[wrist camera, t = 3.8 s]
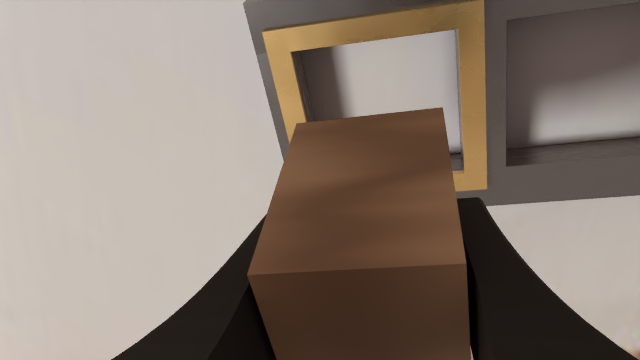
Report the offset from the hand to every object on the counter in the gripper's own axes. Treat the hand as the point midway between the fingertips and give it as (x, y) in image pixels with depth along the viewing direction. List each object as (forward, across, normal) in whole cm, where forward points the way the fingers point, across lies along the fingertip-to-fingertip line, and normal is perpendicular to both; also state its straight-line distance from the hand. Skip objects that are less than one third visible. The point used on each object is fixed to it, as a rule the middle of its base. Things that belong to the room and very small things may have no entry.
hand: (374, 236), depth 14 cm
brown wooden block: (+3, 0, 0) cm, 3 cm away
